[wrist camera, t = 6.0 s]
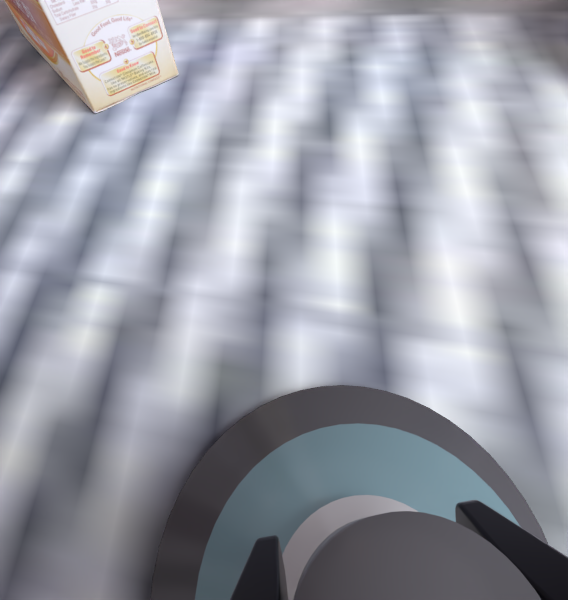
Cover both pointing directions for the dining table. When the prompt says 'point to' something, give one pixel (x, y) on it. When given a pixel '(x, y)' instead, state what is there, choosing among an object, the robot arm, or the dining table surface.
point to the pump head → (410, 563)
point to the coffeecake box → (99, 45)
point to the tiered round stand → (319, 484)
